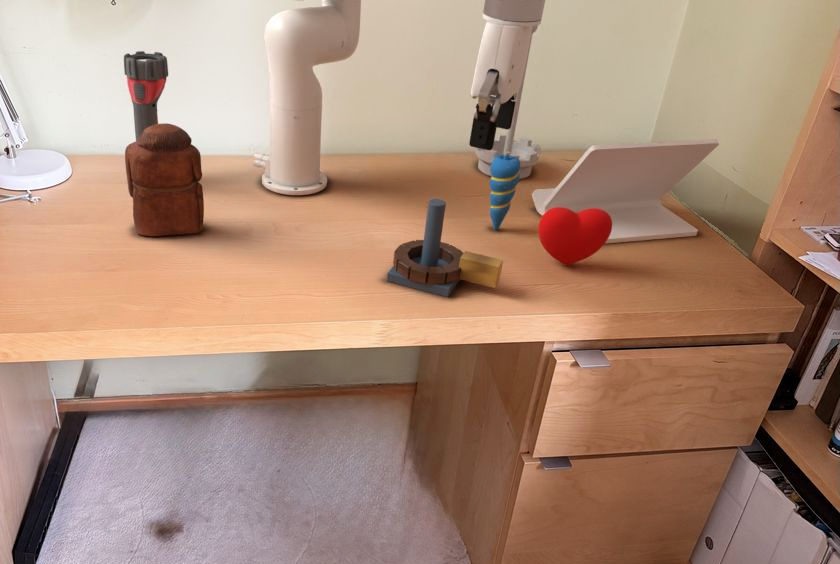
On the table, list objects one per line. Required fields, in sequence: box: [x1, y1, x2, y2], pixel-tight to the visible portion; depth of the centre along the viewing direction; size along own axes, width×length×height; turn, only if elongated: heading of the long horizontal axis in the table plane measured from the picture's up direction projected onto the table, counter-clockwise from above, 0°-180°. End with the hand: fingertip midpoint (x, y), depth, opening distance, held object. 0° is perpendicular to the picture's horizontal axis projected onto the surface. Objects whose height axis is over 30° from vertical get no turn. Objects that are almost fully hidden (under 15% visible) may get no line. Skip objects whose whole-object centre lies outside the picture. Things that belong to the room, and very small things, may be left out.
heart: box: [537, 207, 612, 266], centre depth 126 cm, size 12×5×10 cm, turn 92°
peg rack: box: [386, 198, 461, 298], centre depth 119 cm, size 10×10×12 cm
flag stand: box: [474, 25, 542, 180], centre depth 155 cm, size 13×13×30 cm
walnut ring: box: [392, 239, 504, 289], centre depth 120 cm, size 16×11×4 cm, turn 66°
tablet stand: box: [531, 138, 720, 244], centre depth 140 cm, size 18×25×17 cm
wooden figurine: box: [124, 123, 205, 237], centre depth 127 cm, size 12×6×18 cm, turn 106°
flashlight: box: [123, 50, 169, 141], centre depth 143 cm, size 8×8×23 cm
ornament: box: [489, 148, 520, 231], centre depth 134 cm, size 5×5×15 cm
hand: (490, 137), depth 109 cm, fingers open, 9 cm apart
